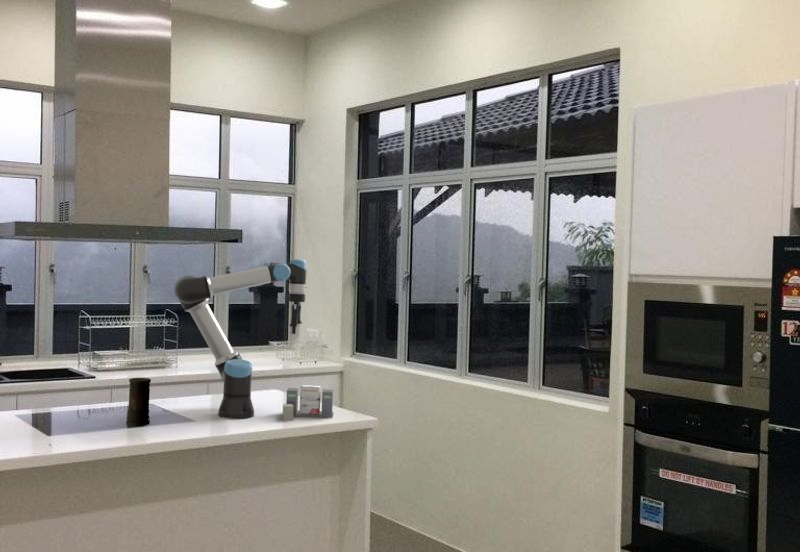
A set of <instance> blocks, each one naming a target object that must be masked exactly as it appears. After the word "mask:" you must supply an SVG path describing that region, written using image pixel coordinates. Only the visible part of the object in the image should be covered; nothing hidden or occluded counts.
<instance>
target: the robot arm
mask: <svg viewBox="0 0 800 552" xmlns="http://www.w3.org/2000/svg"><path fill="white" fill-rule="evenodd" d="M307 270H308V269H307V261H306V260H305V259H295V258H294V259H290V261H289V262H287V263H286V262H273V261H271V262H265V263H264V264H263V266H261V267H260V266H259V267H255V268H252V269H246V270H241V271H237V272H231V273H226V274H222V275H217V276H211V277H209V276H207V275H204V276H199V277H197V276H196V277H195V276H194V275H184V276H182V277H180V278H178V279H177V280H176V282H175V284H174V287H173V291H174V295H175V297H176V298H177V299H178V301H179V303H180V304H181V306H182V309H183V310H184V312H188V313H190V316H191V317H192V319H193V321H194V322H195V324H196V326H197V328H198V330H199V331H200V334H201V335H202V337H203V339H204V341H205V342H206V344H207V346H208V347H209V349H210V351H211V354H212V355H213V357H214V358H215V362H214V366H215V368H216V369H217V372H218V373H219V375H220V378H221V379H222V380H223V396H222V400H221V402H220V405H219V407H218V415H217V416H219V417H221V418H226V419H238V420H239V419H247V418H251V417H254V416H255V409H254V405H253V402H252V397H251V396H252V376H253V375H252V373H253V367H252V366H253V364H252V363H251V362H250V361H249V360H246V359H243V358H242V356H241V354H240V352H239V351H237V350H235V349H234V348H233V347H232V345H231V343H230V341H229V339H228V338H227V336H226V334H225V332H224V331H223V328H222V327H221V325H220V323H219V321H218V319H217V317H216V316H215V314H214V313H213V311H212V308H211V307H210V305H209V299H211V298H212V297H214V295H215V296H217V295H220V294H225V293H229V292H234V291H238V290H244V289H248V288H252V287H257V286H262V285H265V284H271V283H276V282H285V281H287V280H288V281H289V283H288V292H289V293H288V302H290V303H291V302H292V305H291V319H290V320H291V321H290V324H289V327H290V342H297V340H298V339H300V336H301V335H300V334H301V333H300V332H301V324H302V323H303V322H302V321H301V313H302V303H305V302H306V294H305V293H306V289H307V288H308V286H307V285H306V282H307Z"/></svg>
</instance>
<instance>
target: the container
mask: <svg viewBox="0 0 800 552" xmlns="http://www.w3.org/2000/svg"><path fill="white" fill-rule="evenodd" d="M128 382H129V389H128V391H129V392H128V393H129V394H128V409H127V417H126V419H127V420H126V422H125V424H126V425H127V426H132V427H143V426H144V427H145V426H148V425H150V423H151V422H150V395H151V394H150V393H151V389H150V387H151V383H152V379H151V378H148V377H133V378H128Z"/></svg>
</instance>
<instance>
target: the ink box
mask: <svg viewBox="0 0 800 552" xmlns="http://www.w3.org/2000/svg"><path fill="white" fill-rule="evenodd" d="M321 388H322V386H321V385H308V384H307V385H306V384H302V385H300V389H299V390H300V393H299V394H300V395H299V396H300V397H299V411H300V413H309V414H319V412H320V410H321V408H320V407H321V390H322V389H321Z"/></svg>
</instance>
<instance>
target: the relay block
mask: <svg viewBox="0 0 800 552" xmlns="http://www.w3.org/2000/svg"><path fill="white" fill-rule="evenodd" d="M293 408H294V406H293V404H286V403H283V404H282V420H283V421H294V416H293Z"/></svg>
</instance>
